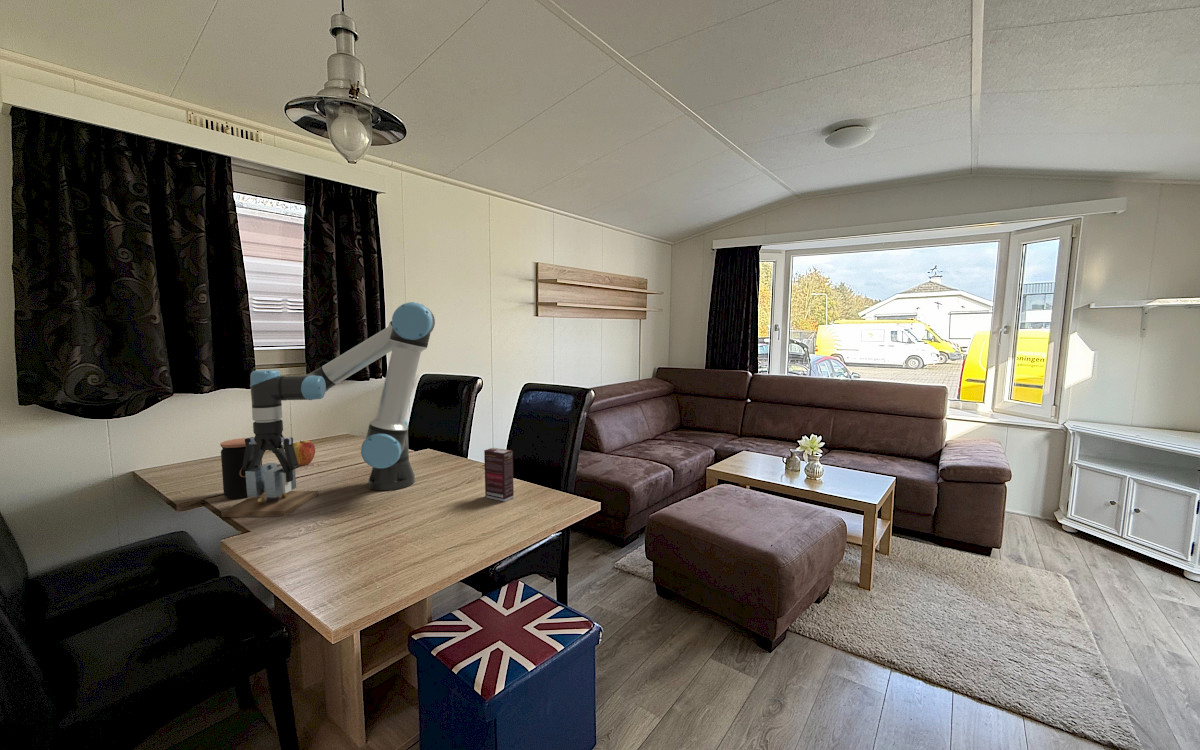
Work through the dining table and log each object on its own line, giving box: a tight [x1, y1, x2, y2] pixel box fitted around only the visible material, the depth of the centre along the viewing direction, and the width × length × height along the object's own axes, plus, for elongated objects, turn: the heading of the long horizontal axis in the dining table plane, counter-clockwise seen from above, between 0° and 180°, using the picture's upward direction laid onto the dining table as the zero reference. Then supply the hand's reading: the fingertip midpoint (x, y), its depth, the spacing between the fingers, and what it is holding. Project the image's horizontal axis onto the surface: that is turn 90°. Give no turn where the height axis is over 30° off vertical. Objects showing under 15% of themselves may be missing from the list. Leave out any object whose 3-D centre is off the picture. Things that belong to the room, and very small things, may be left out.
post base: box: [221, 490, 319, 518], centre depth 149 cm, size 18×18×8 cm
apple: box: [293, 440, 316, 467], centre depth 194 cm, size 9×9×10 cm
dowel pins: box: [258, 493, 287, 505], centre depth 149 cm, size 8×1×2 cm, turn 153°
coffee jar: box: [219, 437, 263, 500], centre depth 158 cm, size 11×11×18 cm
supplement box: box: [483, 447, 515, 502], centre depth 156 cm, size 9×5×16 cm, turn 60°
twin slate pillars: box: [245, 462, 297, 498], centre depth 148 cm, size 9×9×8 cm
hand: (272, 491), depth 149 cm, fingers closed on twin slate pillars, 9 cm apart
